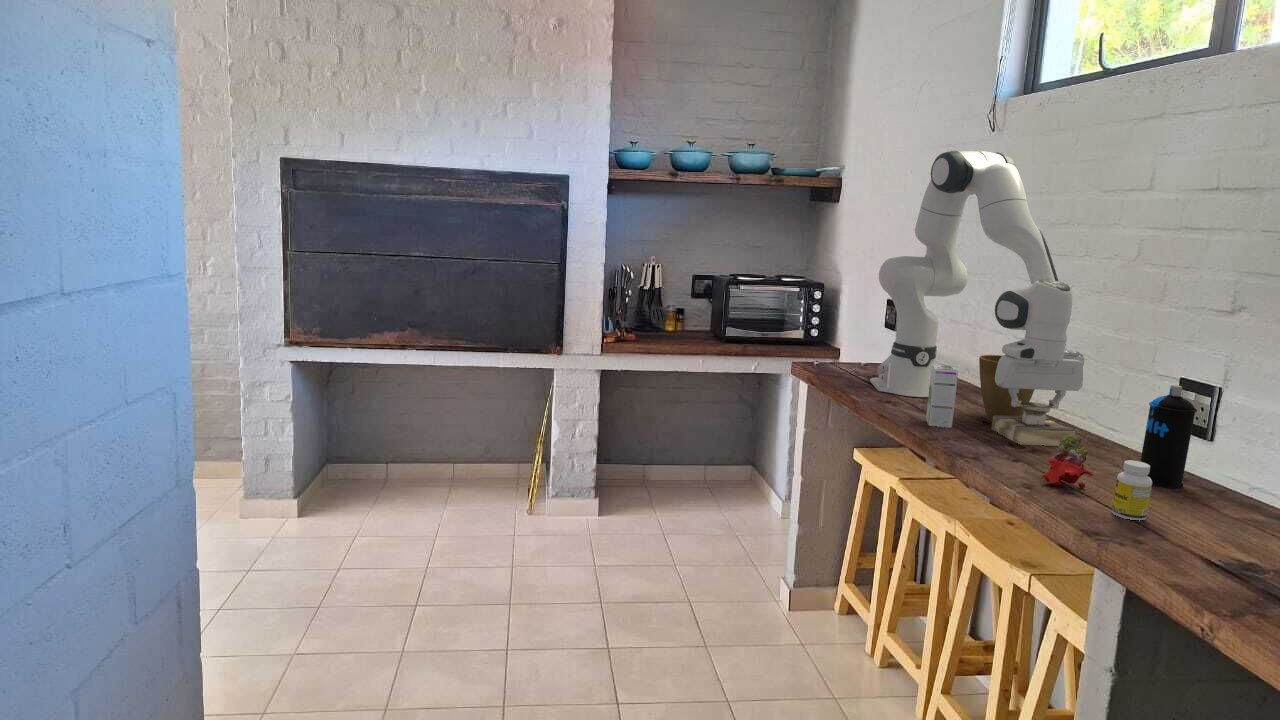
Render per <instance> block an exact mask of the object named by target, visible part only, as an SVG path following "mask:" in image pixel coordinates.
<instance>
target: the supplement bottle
mask: <svg viewBox="0 0 1280 720" xmlns="http://www.w3.org/2000/svg"><path fill="white" fill-rule="evenodd" d="M1123 470H1124V471H1122V472H1119V473H1118V474H1117V477H1116V483H1115V488H1114V494H1113V501H1112V506H1111V513H1112V515H1114V516H1115V515H1116V517H1117V516H1119V517H1122V518H1125V519H1130V520H1139V521H1138V522H1141V521H1140V520H1144V521H1145V520H1146V519H1147V515H1148V511H1149V504H1150V498H1151V492H1152V487H1153V485H1152V480H1151V478H1149V477H1148V476H1147V475H1148V474H1149V471H1150V465H1148V464H1146V463H1143V462H1140V460H1139V461H1138V460H1131V459H1130V460H1129V459H1128V460H1125V461H1124V462H1123ZM1119 517H1118V518H1119ZM1122 518H1121V519H1122ZM1125 519H1124V520H1125ZM1130 520H1129V521H1130Z"/></svg>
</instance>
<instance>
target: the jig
mask: <svg viewBox="0 0 1280 720" xmlns="http://www.w3.org/2000/svg"><path fill="white" fill-rule="evenodd" d="M991 422H992V423H991V429H992V431H993V430H994V432H995V431H996V432H995V433H997V432H998V433H997V434H999V435H1001V436H1002V435H1003V437H1004V436H1005V438H1007V439H1008V440H1010V441H1011V442H1014V443H1016V444H1017V443H1018V445H1019V444H1020V446H1021V445H1022V446H1042V445H1044V446H1046V447H1047V446H1048V447H1049V446H1051V447H1058V446H1059V444H1060V440H1062V439H1063V438H1064V437H1066V436H1076V430H1075V429H1073V428H1071V427H1067V426H1064V425H1061V424H1059V423H1057V422H1055V421H1052V420H1051V418H1049V417H1047V416H1046V419H1045V425H1044V426H1025V425H1023V424H1021V422H1022V416H1012V415H994V416H993V421H991ZM1044 446H1043V447H1044Z"/></svg>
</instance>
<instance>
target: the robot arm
mask: <svg viewBox="0 0 1280 720" xmlns="http://www.w3.org/2000/svg"><path fill="white" fill-rule="evenodd" d="M1016 167H1017V166H1016V163H1015V161H1014V159H1013V158H1012V157H1011V156H1009V155H1008V154H1005V153H1001V152H991V151H984V150H963V151H957V150H948V151H945V152H943V153H941V154H939V155H938V156H937V157H936V158H935V159H934V161H933V163H932V166H931V169H930V180H929V182H928V185H927V187H926V189H925V192H924V195H923V197H922V201H921V205H920V208H919V213H918V216H917V220H916V224H915V227H914V234H915V237H916V239H917V240H918V241H919V242H920V243H922V245H924V246H925V247H926V251H925V255H924V256H909V255H902V256H896V257H890V258H888V259H886V260H885V261H884V262H883V263H882V265H881V267H880V268H879V272H878V281H879V285H880V286H881V288H882V289H883V291H884V292H886V293H887V294H888V295H889V297H890V298H891V300H892V302H893V305H894V307H895V311H896V329H895V330H896V331H895V341H893V342H892V346H891V351H890V355H889V356H888V357H887V358H886V359H884V361H883V362H881V363H880V365H878V366H876V374H878V377H871V378H870V379H869V382H870V383H871V384H872V385H873V387H874V388H875V390H877V391H878V392H884V393H889V394H894V395H898V396H899V395H900V396H906V397H915V398H928V395H929V385H930V376H931V368H932V365H938V364H937V362H936V361H935V359H936V357H937V353H938V351H937V349H938V347H937V345H936V343H937V336H938V329H939V327H938V326H939V320H938V317H937V316H936V314H935V313H933V312H932V311H931V310H929V309H927V307H926V305H925V299H924V298H925V297H949V296H954V295H958V294H960V293H961V292H963V290H964V289H965V288H966V286H967V284H968V280H969V274H968V269H967V267H966V266H965V264H964V262H962V260H961V259H960V257H959V254H958V252H957V237H958V232H959V228H960V224H961V221H962V216H963V214H964V209H965V205H966V202H967V199H968V198H969V197H970V196H973V195H975V196H976V197H977V204H978V212H979V219H980V225H981V227H982V231H983V232H984V234H985V236H986V237H987V238H988V239H990V240H991V241H992V242H993V243H995V244H998V245H1000V246H1001V247H1004V248H1006V249H1008V250H1010V251H1012V252H1014V253H1015V254H1016V255H1018V256H1019V258H1021V259H1022V262H1023V263H1024V265H1025V268H1026V270H1027V274H1028V277H1029V281H1030V284H1031V285H1028V286H1025V287H1022V288H1021V287H1020V288H1018V289H1013V290H1011V289H1010V290H1005V291H1004V292H1002V293H1001V295H999V296H998V298H997V300H996V302H995V305H994V316H995V318H996V321H997V323H998V324H999V325H1000V326H1002V328H1004V329H1008V330H1012V331H1013V330H1016V331H1019V330H1021V331H1022V330H1023V331H1025V335H1024V338H1023V339H1021V340H1017V341H1014V342H1011V343H1009V342H1008V343H1006V344H1004V345H1003V346H1002V348H1001V353H1003V354H1004V355H1002V357H1001V358H1000V359H999V362H998V365H997V369H996V374H995V382H996V384H997V385H998V386H1000V387H1002V388H1009V390H1008V391H1009V394H1010V396H1011V398H1012V401H1011V406H1013V407H1021V402H1022V400H1019V399H1018V397H1017V394H1016V393H1019V389H1035V390H1038V391H1039V390H1041V391H1042V390H1043V391H1054V393H1055V395H1054V397H1053V398H1052V399H1048V400H1049V401H1048V406H1050V407H1051V408H1050V409H1056V410H1057V409H1059V407H1060V402H1061V401H1062V400H1063V399H1064V397H1065V396H1066V394H1067V392H1068V391H1070V392H1078V391H1080V390H1081V389H1082V387H1083V384H1084V382H1083V381H1084V365H1085V356H1084V355H1083V354H1082V353H1080V352H1079V351H1076V350H1075V351H1070V350H1066V347H1067V340H1068V336H1067V330H1068V326H1069V324H1070V321H1071V316H1072V309H1073V291H1072V287H1070V286H1069V285H1068V284H1067V283H1065V282H1062V281H1061V280H1059V279H1058V276H1057V272H1056V268H1055V265H1054V262H1053V260H1052V256H1051V253H1050V250H1049V246H1048V243H1047V241H1046V238H1045V237H1044V235H1043V232H1041V230H1040V229H1039V228H1038V226H1037V224H1036V223H1035V221H1034V219H1033V216H1032V214H1031V211H1030V207H1029V204H1028V199H1027V194H1026V190H1025V186H1024V184H1023V181H1022V178H1021V175H1020V173H1019V171H1018V169H1017V168H1016Z"/></svg>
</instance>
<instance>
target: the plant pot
mask: <svg viewBox="0 0 1280 720" xmlns="http://www.w3.org/2000/svg"><path fill="white" fill-rule="evenodd" d="M1002 356H1003V355H999V354H981V355H979V356H978V357H979V358H978V360H979V361H978V363H979V365H978V366H979V382H980V391H981V397H982V403H983V407H984V412H985V416H986V419H987V420H988V419H989V420H988V421H990V420H991V422H993V416H994V415H1012V416H1022V415H1023V409H1022V408H1020V407H1013V406H1011V401H1012V398H1011V396H1010V394H1009V391H1008V390H1009V388H1002V387H1000V386H998V385H997V384H996V382H995V374H996V369H997V365H998V362H999V359H1000V358H1001V357H1002ZM1035 390H1036V389H1019V393H1016V394H1017V397H1018V399H1019V400H1022V402H1031V400H1032V396H1033V395H1034V392H1035ZM1022 402H1021V403H1022Z"/></svg>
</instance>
